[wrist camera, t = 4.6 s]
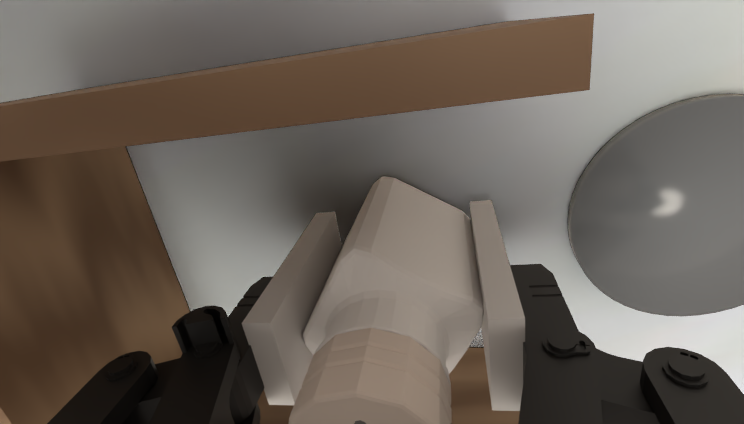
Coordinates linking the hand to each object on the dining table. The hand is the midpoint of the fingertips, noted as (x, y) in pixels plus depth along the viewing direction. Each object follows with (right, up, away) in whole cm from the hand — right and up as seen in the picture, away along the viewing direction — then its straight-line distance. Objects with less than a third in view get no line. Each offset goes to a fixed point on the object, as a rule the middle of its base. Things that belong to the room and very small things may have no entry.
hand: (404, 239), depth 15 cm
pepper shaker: (0, 0, +1) cm, 1 cm away
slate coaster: (+10, +1, -1) cm, 10 cm away
